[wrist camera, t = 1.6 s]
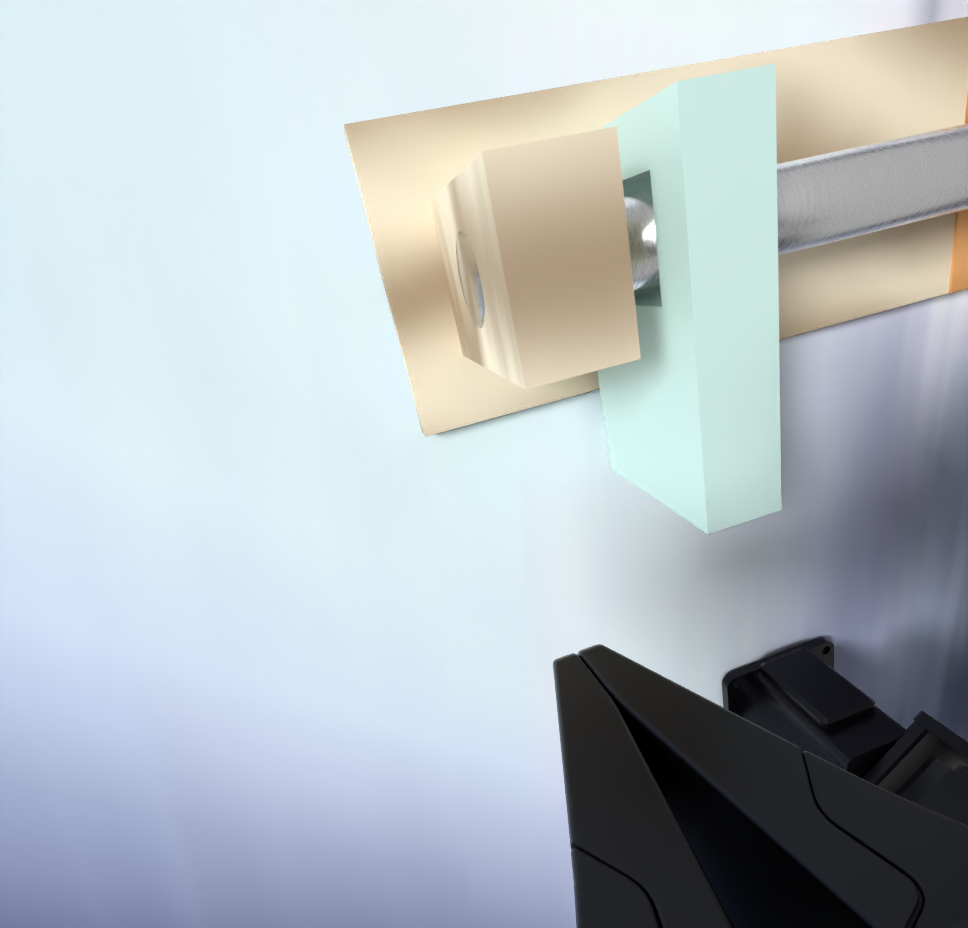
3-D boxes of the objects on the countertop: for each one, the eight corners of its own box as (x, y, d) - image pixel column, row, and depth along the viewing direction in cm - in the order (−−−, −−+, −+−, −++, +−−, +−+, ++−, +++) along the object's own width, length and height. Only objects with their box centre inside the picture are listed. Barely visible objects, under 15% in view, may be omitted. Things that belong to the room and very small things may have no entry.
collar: (666, 452, 22) (781, 510, 16) (610, 469, 22) (708, 534, 16) (637, 134, 18) (775, 63, 12) (567, 148, 18) (677, 81, 12)
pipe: (1182, 154, 22) (1296, 136, 19) (469, 328, 17) (493, 335, 14) (1201, 72, 21) (1323, 42, 18) (449, 232, 16) (470, 221, 13)
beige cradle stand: (1108, 244, 26) (1402, 227, 19) (422, 431, 20) (466, 508, 13) (1156, -11, 23) (1539, -151, 15) (344, 131, 17) (347, 16, 10)
